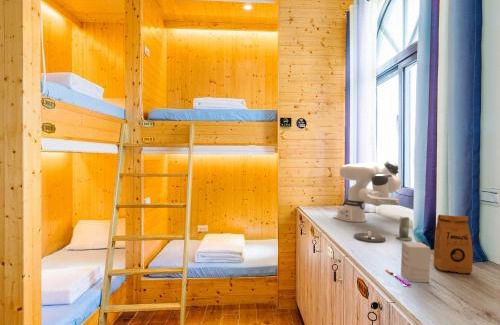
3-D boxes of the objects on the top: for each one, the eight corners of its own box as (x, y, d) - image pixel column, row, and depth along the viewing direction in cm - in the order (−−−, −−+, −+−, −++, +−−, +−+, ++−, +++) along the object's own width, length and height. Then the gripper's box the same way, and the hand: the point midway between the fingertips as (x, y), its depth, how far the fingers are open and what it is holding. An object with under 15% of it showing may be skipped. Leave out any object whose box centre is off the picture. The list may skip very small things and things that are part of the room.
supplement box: (420, 275, 120) (421, 242, 120) (429, 283, 113) (431, 247, 113) (400, 274, 121) (401, 241, 121) (407, 281, 114) (409, 246, 113)
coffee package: (475, 277, 120) (477, 218, 120) (437, 272, 124) (440, 216, 124) (465, 268, 130) (467, 214, 130) (431, 264, 134) (433, 212, 133)
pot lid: (348, 237, 175) (348, 228, 175) (364, 233, 185) (364, 224, 185) (375, 244, 163) (376, 234, 163) (391, 239, 173) (391, 230, 173)
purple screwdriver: (412, 287, 109) (387, 271, 125) (411, 284, 109) (386, 268, 125) (405, 289, 109) (381, 272, 125) (404, 286, 109) (380, 269, 124)
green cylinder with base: (392, 238, 176) (393, 216, 176) (399, 236, 181) (400, 215, 181) (407, 241, 170) (408, 219, 170) (414, 239, 175) (415, 217, 175)
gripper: (390, 204, 202) (405, 209, 189) (361, 202, 197) (375, 208, 184) (391, 194, 202) (407, 199, 188) (363, 192, 197) (377, 197, 183)
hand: (391, 203), depth 186 cm, fingers open, 8 cm apart
